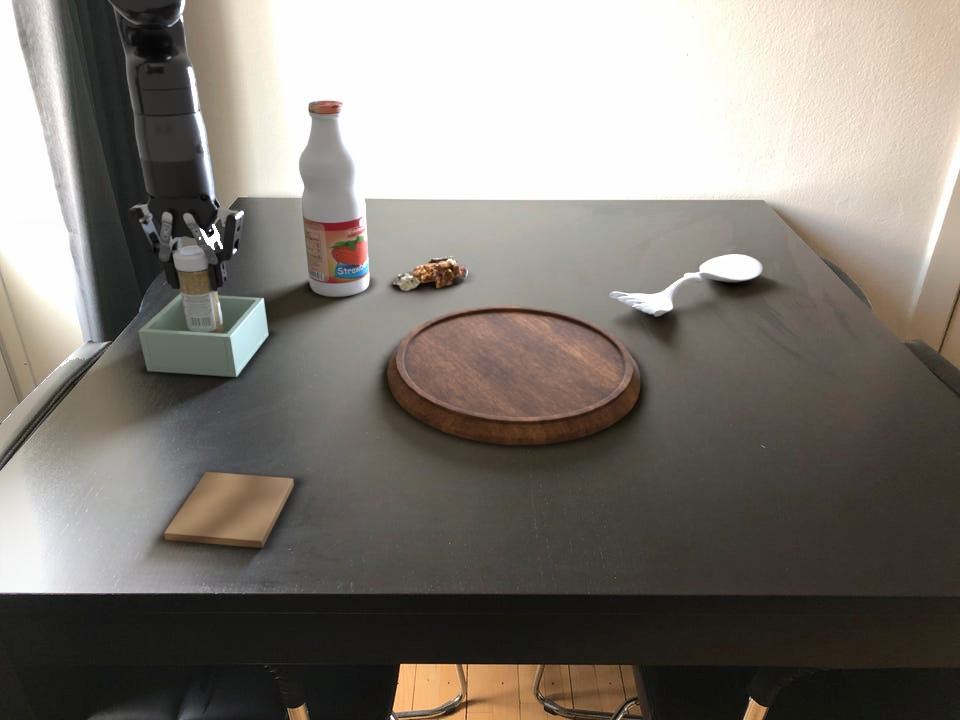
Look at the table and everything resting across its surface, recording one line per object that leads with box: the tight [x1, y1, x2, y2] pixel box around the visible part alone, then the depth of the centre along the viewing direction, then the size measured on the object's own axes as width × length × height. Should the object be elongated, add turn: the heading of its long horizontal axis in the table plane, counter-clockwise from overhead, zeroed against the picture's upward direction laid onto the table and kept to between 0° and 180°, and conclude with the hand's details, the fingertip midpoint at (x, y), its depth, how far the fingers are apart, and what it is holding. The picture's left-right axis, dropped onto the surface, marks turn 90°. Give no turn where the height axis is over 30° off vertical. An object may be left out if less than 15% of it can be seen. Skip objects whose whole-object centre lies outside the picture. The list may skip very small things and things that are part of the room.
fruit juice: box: [298, 100, 370, 298], centre depth 111 cm, size 9×9×28 cm
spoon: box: [609, 254, 764, 318], centre depth 117 cm, size 9×32×4 cm, turn 131°
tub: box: [137, 292, 269, 378], centre depth 96 cm, size 12×12×6 cm
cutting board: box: [386, 305, 642, 446], centre depth 94 cm, size 32×32×3 cm
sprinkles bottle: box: [173, 245, 224, 334], centre depth 94 cm, size 5×5×14 cm
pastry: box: [393, 255, 469, 292], centre depth 119 cm, size 7×12×4 cm, turn 128°
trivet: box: [163, 471, 295, 549], centre depth 70 cm, size 9×9×1 cm
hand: (198, 287), depth 93 cm, fingers closed on sprinkles bottle, 4 cm apart
